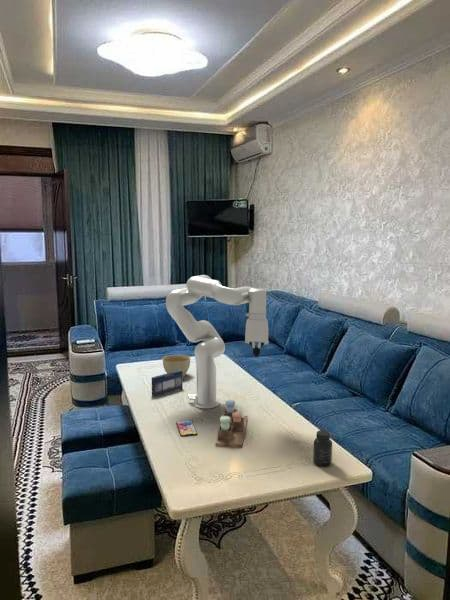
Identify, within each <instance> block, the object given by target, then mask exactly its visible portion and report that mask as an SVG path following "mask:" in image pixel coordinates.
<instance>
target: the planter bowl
mask: <svg viewBox="0 0 450 600" xmlns="http://www.w3.org/2000/svg"><path fill="white" fill-rule="evenodd" d="M162 366H163V369H164V372H166V373H165V374H167V373H171V372H175V371H179V370H181V371H182V373H183V375H182V376H183V378H184V377H186V374H187V373H188V371H189V369H190V366H191V357H190V356H189V355H185V354H183V355H182V354H171V355H166V356H164V357H162Z"/></svg>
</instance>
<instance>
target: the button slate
mask: <svg viewBox="0 0 450 600" xmlns="http://www.w3.org/2000/svg"><path fill="white" fill-rule="evenodd" d="M235 405H236V401H235V400H233V399H227V400H226V401H225V406H226V408H225V409H226V413H233V412H234V409H235Z"/></svg>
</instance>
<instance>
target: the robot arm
mask: <svg viewBox="0 0 450 600" xmlns="http://www.w3.org/2000/svg"><path fill="white" fill-rule="evenodd" d="M203 297H207V298H211V299H214V300H215V301H217V302H219V303H222V304H224V305H225V304H226V305H231V306H240V305H242V304H243V305H244V304H248V312H246V313H245V317H247V319H246V323H245V334H244V337H245V338H244V343H245V344H249V345H250V346H251V348H252V355H254V358H256V357H257V358H258V357H259V356H260V355H261V348H262V347H263V346H264V345H265V346H266V345H268V344H269V342H270V341H269V323H268V319H267V317H266V316H267V291H266V289H265V288H255V287H251V286H248V285H247V286H246V285H245V286H240V287H235V288H232V287H227V286H223V285H222V283H221V281H219V280H218V279H212V278H211V277H210V276H209V275H208V274H207V275H206V274H200V275H195V276H191V277H190V278H189V279H187V281H186V287H183V288H178V289H173V290H172V291H171V292H169V293H168V294H167V296H166V298H165V307H166V310H167V313H168V314H169V316H171V318H172V319H173V321H174V322H175V323H176V324H177V326H178V327H179V329H180V331H181V332H182V333H183V335H184V336H185V338H186V339H187V340H188V342H190V343H198V342H199V343H198V344H197V345H196V346H195V348H194V357H195V363H196V364H195V365H196V366H195V367H196V394H188V396H187V399H189V401H193V406H195V407H196V408H198V409H203V410H204V409H215V408H218V406H219V405H220V400H219V399H217V365H216V363H215V360H214V359H216V358H218V357H220V356H222V355H223V354H224V353H225V350H226V345H225V342H224V340H223V338H222V337H221V336H220V334H219V333H218V332H217V330H216V329H215V327H214V325H212V323H210V321H208V320H206V319H205V320H204V319H203V320H199V321H198V320H196V319H195V317H194V316H193V314H192V313H191V312H190V311H189V310H188V309H186V308H185V307H184V306H188V305H193V304H194V303H196V302H198V301H199V300H200V299H201V298H203ZM200 341H201V342H200Z"/></svg>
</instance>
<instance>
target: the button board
mask: <svg viewBox="0 0 450 600" xmlns="http://www.w3.org/2000/svg"><path fill="white" fill-rule="evenodd" d="M234 412H238V409H237V408H234ZM222 414H223V415H222V416H229V417H230V418H231V419H230V422H229V431H223V430H221V424H220V425H218V428H217V438H216V441H215V447H223V448H224V447H226V448H243V441H244V437H245V432H246V427H247V422H248V415H242V417H241V422H233V417H232V413H226V408H224V410H223V413H222Z"/></svg>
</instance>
